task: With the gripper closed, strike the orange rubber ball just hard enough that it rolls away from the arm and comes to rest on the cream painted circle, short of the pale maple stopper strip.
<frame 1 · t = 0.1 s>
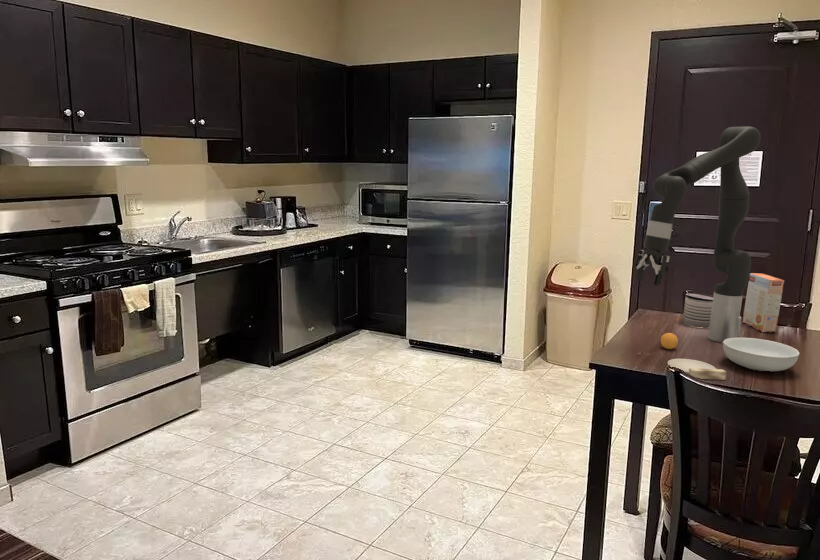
hand: (647, 283, 203), 22 cm above the table, tool pointing down, fingers open, 8 cm apart
cracker box: (758, 328, 236), on the table
ball: (669, 340, 205), on the table
serving bowl: (757, 367, 190), on the table
can: (697, 325, 238), on the table
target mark: (691, 366, 188), on the table
stopper strip: (706, 378, 178), on the table
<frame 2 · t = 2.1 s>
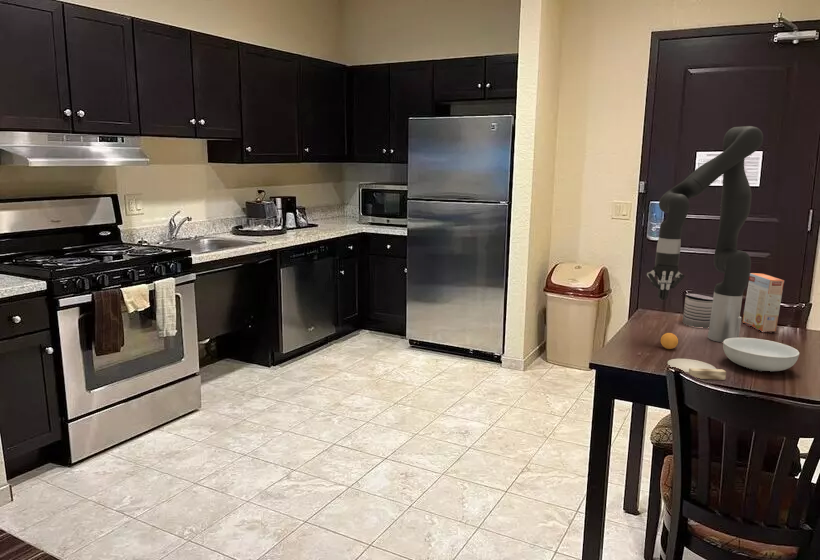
hand: (662, 299, 212), 15 cm above the table, tool pointing down, fingers closed
nothing on the table moved.
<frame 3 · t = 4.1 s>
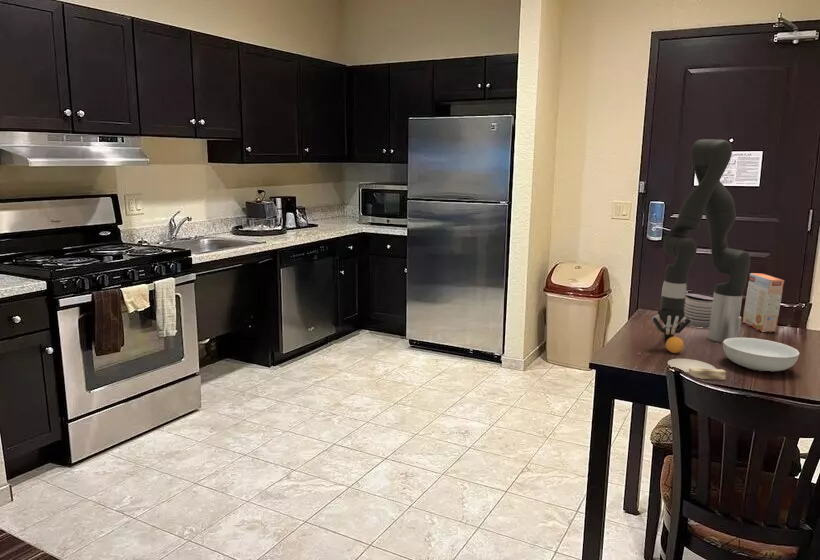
hand: (667, 344, 205), 2 cm above the table, tool pointing down, fingers closed
ball: (674, 344, 201), on the table
everything else where it was.
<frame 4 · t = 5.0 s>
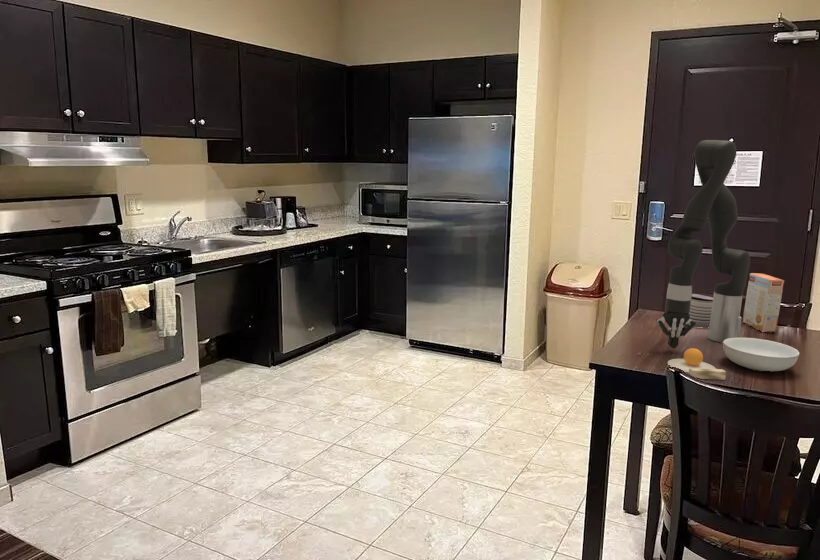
hand: (672, 347, 202), 1 cm above the table, tool pointing down, fingers closed
ball: (693, 357, 189), on the table
everything else where it was.
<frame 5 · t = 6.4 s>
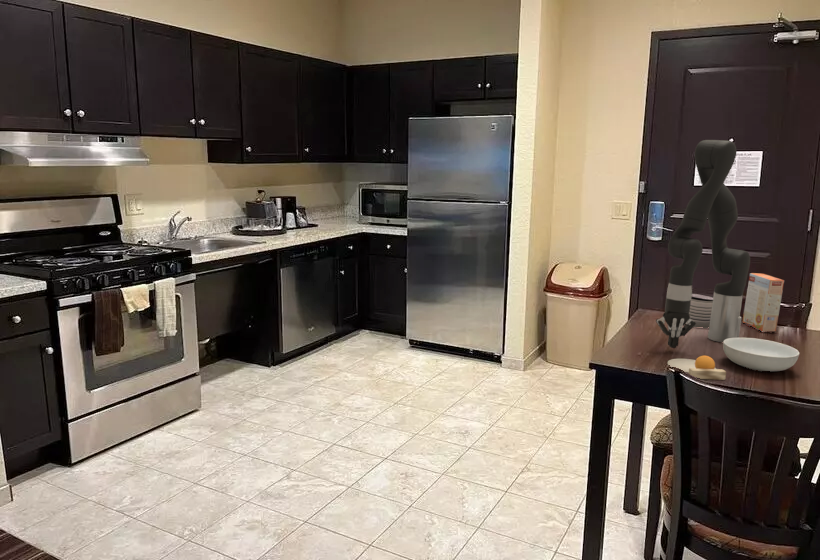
hand: (672, 347, 202), 1 cm above the table, tool pointing down, fingers closed
ball: (704, 364, 182), on the table
everything else where it was.
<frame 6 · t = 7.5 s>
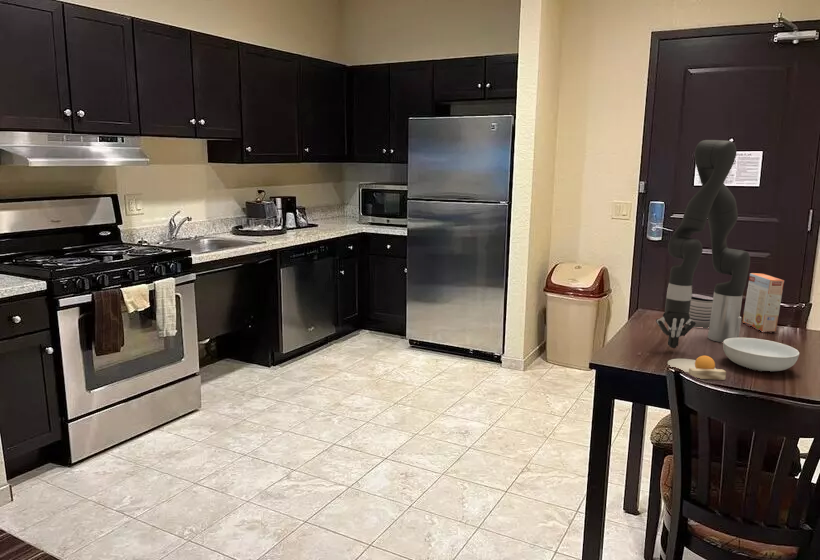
hand: (672, 347, 202), 1 cm above the table, tool pointing down, fingers closed
nothing on the table moved.
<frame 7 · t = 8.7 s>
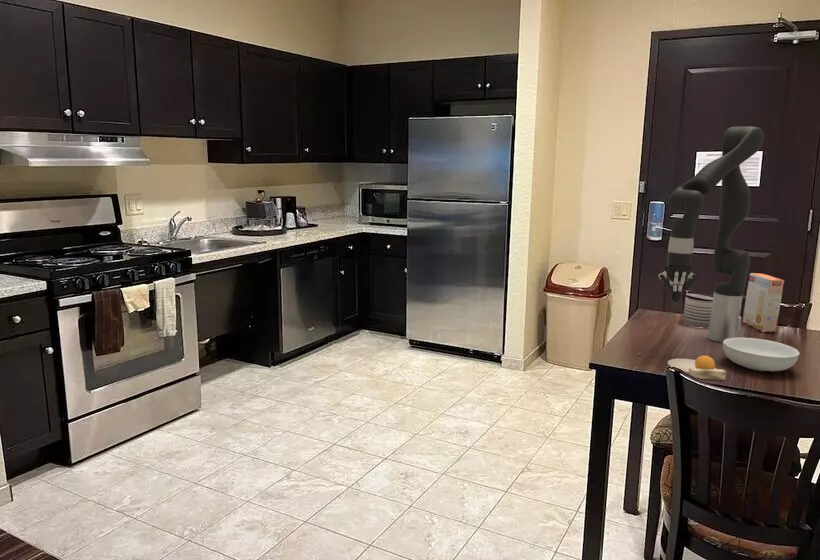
hand: (674, 301, 202), 17 cm above the table, tool pointing down, fingers closed
nothing on the table moved.
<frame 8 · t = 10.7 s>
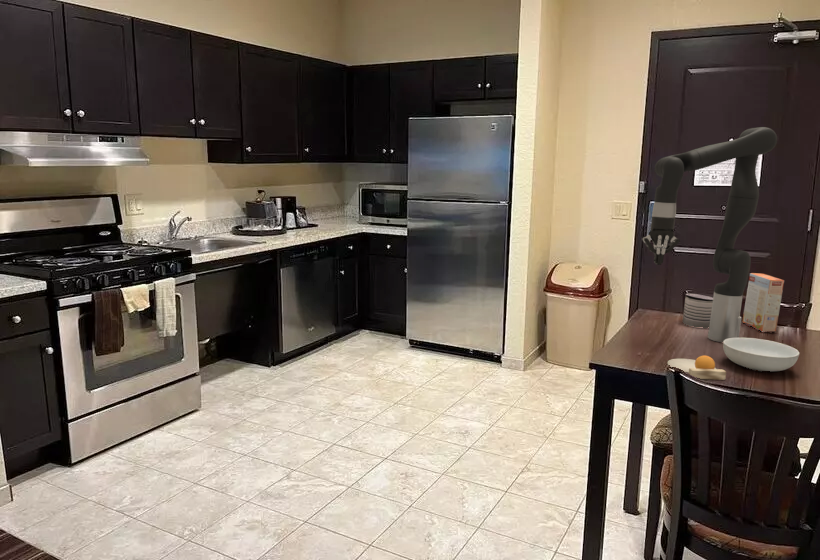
hand: (657, 264, 213), 27 cm above the table, tool pointing down, fingers closed
nothing on the table moved.
at the end: ball 5.9 cm from the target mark (horizontally); ball at rest at the end (0.0 cm/s); ball moved 23.8 cm from its start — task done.
